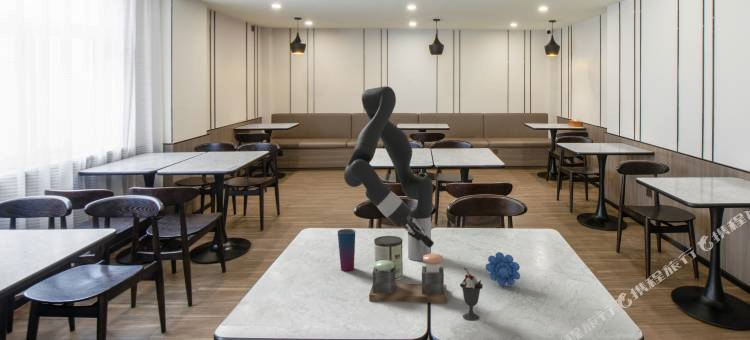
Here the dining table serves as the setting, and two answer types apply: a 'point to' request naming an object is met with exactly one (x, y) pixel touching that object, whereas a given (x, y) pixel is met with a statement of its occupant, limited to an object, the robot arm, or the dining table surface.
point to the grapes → (503, 269)
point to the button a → (384, 265)
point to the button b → (432, 262)
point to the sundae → (471, 295)
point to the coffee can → (390, 252)
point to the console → (408, 288)
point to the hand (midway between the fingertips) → (431, 245)
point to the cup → (346, 248)
